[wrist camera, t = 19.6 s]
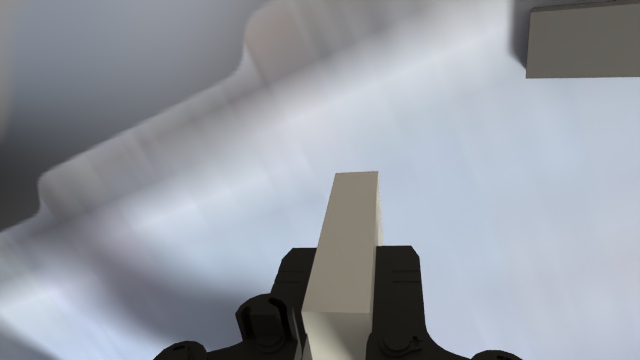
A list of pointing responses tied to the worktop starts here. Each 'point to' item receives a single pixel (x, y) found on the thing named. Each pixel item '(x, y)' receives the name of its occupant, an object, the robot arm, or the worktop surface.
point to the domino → (585, 40)
